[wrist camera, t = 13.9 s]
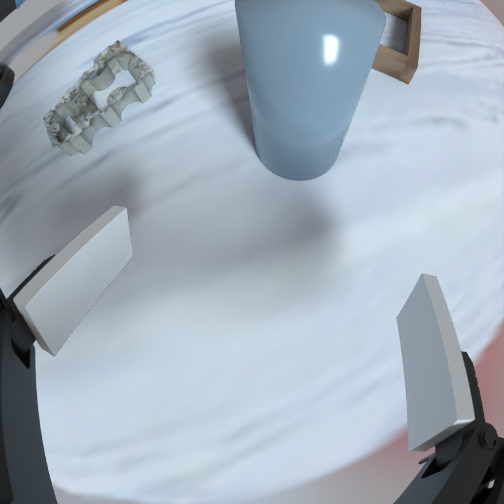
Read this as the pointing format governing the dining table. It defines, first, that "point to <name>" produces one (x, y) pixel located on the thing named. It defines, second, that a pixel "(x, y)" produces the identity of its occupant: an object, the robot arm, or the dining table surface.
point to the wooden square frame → (407, 62)
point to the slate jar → (305, 76)
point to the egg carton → (86, 111)
